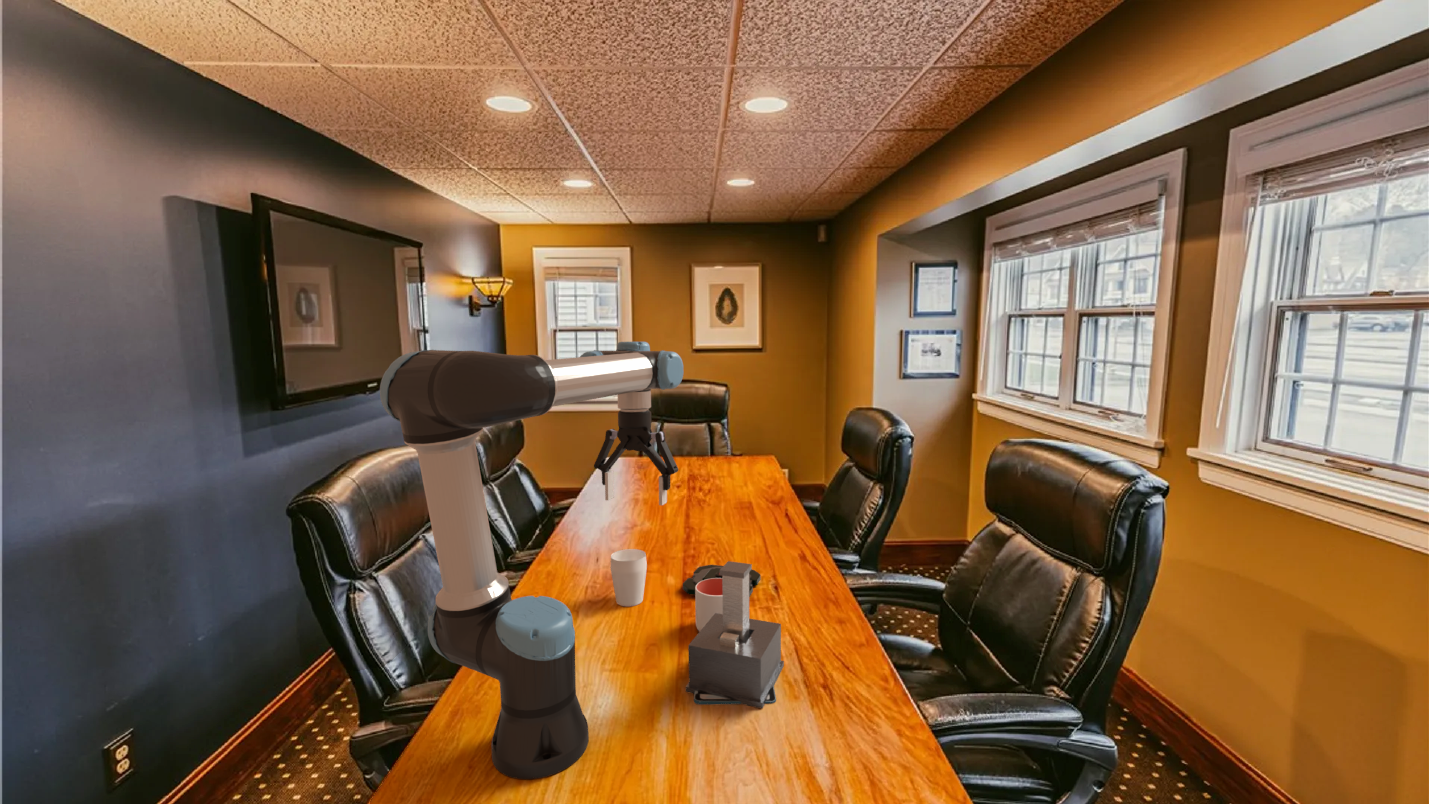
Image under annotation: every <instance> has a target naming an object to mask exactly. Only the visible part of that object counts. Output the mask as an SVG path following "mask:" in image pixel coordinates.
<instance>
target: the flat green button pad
mask: <svg viewBox="0 0 1429 804" xmlns="http://www.w3.org/2000/svg"><path fill="white" fill-rule="evenodd" d="M723 566H724V565H719V564H718V565H717V564H706V565H701V566H698V567H697V568H696V569H695V570H694V571H693V575H692V577H688V578H687V579H685V580H684V582H682V590H683V591H684V592H685V593H687V594H688V595H693V596H695V586H696V585H697V584H698V583H699V582H701V581H703V580H706V579H711V578H722V575H720V569H721V568H722V567H723ZM761 579H762V578H761V573H759V572H757V570H754V569H753V568H752V569H751V571H750V572H749V598H750V596H752V594H753V592H754V589H753V588H754V586H757V585H758V584H759V583H760V581H761Z"/></svg>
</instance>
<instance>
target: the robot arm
mask: <svg viewBox="0 0 1429 804" xmlns="http://www.w3.org/2000/svg"><path fill="white" fill-rule="evenodd" d="M683 378H684V363H683V360H682V357H681V355H679V354H678V352H675V351H671V350H670V351H667V350H651V346H650V344H649V342H647V341H618V343H616V350H596V349H594V350H591V351H585V352H583V353H582V354H581V355H580V356H578V357H569V358H567V357H566V358H554V359H545V358H544V357H542V356H540V355H537V354H525V355H524V354H522V355H521V354H520V355H517V354H505V353H495V352H487V351H481V350H480V351H479V350H442V349H440V350H439V349H423V350H419V351H412V352H407V353H405V354H402V355H401V356H399V357H397V358H396V359H394V361H393V362H391V363H390V364H389V366H388V368H387V369H386V370H385V372H384V373H383V375H382V378H381V380H380V385H379V398H380V401H381V402H380V403H381V405H382V406H383V409H384V410H385V412H386V413H387V414H388V416H391V417H392V418H393V419H394V420H396V421H398V422H399V423H400V427H401V432H402V436H403V442H404V444H405V445H407V446H409V447H410V448H412V449H413V450H415V451H416V453H417V457H418V463H419V469H420V472H421V478H422V484H423V489H424V496H425V499H426V505H427V511H428V515H429V519H430V525H431V531H432V536H433V537H432V538H433V542H434V547H435V551H436V556H437V561H438V567H439V574H440V579H441V583H442V584H441V585H442V588H441V589H440V590H439V591H438V593H436V596H435V603H434V605H433V608H432V610H431V611H432V614H431V615H429V617H428V621H427V636H428V640H429V643H430V644H431V647H432V648H433V650H435V652H436V653H437V654H438V655H440V656H441V657H444V659H446V660H447V661H449V662H450V663H453V664H457V665H459V666H463V667H465V668H467V669H471V670H472V671H475V672H478V673H480V674H483V675H485V676H489V677H491V678H493V679H495V680H498V681H499V691H500V711H499V715H498V717H497V721H496V725H495V728H494V731H493V732H494V733H493V736H492V739H491V744H490V745H491V761H492V764H493V766H494V767H495V769H496V770H497V771H499V773H501V774H503V775H505V776H507V777H510V778H513V779H519V780H534V779H541V778H545V777H549V776H552V775H554V774H558V773H560V772H561V771H564V770H565V769H568V768H569V767H570V766H572V765H573V764H574V763H576V762H577V761H578V760H579V759H580V758H581V757H582V756H583V755H584V753H585V751H586V749H587V748H588V744H589V738H590V737H589V724H588V721H587V719H586V716H585V715H584V712H583V711H582V710H583V709H582V706H581V704H580V702H579V699H578V696H577V685H576V684H577V683H576V682H577V678H576V677H577V676H576V640H575V639H576V634H575V633H576V631H575V630H576V629H575V627H574V619H573V615H572V613H571V610H570V608H568V606H567V605H566V604H565V603H564V602H562V601H560V600H558V599H556V598H553V597H549V596H545V595H538V596H537V597H535V596H534V595H527V596H520V597H517V598H514V599H512V595H511V590H510V585H509V579H508V578H507V577H506V576H505V575H503V574H501V573H500V572H498V570H497V569H498V568H497V563H496V557H495V551H494V546H493V539H492V534H491V533H492V532H491V528H490V523H489V517H488V510H487V504H486V499H485V492H484V487H483V481H482V475H481V470H480V469H481V468H480V463H479V458H478V451H477V446H476V445H477V444H476V440H477V439H478V437H479V436H480V435H481V433H482V432H483V431H484V428H489V427H494V426H499V425H503V424H508V423H511V422H516V421H521V420H525V419H530V418H533V417H534V418H535V417H538V416H539V417H540V416H542V415H543V416H544V415H545V414H547V413H548V412H549V411H550V410H551V409H552V407H558V406H562V405H563V406H564V405H569V404H573V403H574V404H575V403H579V402H586V401H591V400H596V399H601V398H607V397H613V396H617V408H618V409H619V411H617V426H618V430H615V429H614V428H611V429H608V430H606V431H605V437H604V440H603V444H602V446H601V447H600V451H599V453H598V455H597V457H596V459H595V462H594V464H593V468H594V469H596V470H600V472H601V484H602V486H604V489H605V490H604V497H605V501H611V500H612V499H614V498H615V491H614V489H615V485H614V484H615V483H614V480H615V479H614V478H615V477H614V470H612V468H613V466H614V465H615V463H616V462H617V461H618V459H619V458H621V456H622V454H623V453H624V452H625V451H629V452H630V451H635V452H641V451H642V452H643V453H644V454H646V456H647V457H648V458H649V460H650V461H651V463H652V464H653V465H654V466H655V467H656V469H657V470H658V472H659V473H660V474H661V475H659V476H658V506H664V505H665V504H667V502H668V490H670V489H671V475H674V474H676V473H678V472H679V468H678V465H677V463H676V461H675V459H674V456H673V453H672V452H671V450H670V448H669V445H668V443H667V442H666V436H665V431H662V430H660V431H658V432H653V431H652V411H651V410H650V409H651V408H652V392H651V391H652V390H655V389H656V390H657V389H658V390H662V391H663V390H673V389H676V388H677V387H679V385H681V383H682V380H683ZM617 438H618V440H619V443H618V445H617V446H616V448H615V450H614V451H612V453H611V454H610V452H611V449H612V447H613V445H614V443H615V440H616V439H617ZM652 440H653V441H654V442H655V444H656V447H657V449H658V450H659V453H660V454H659V453H658V452H657V450H656V449H655V446H654V445H653V443H652V442H651V441H652ZM609 454H610V456H609ZM660 455H661V456H660ZM608 456H609V457H608Z"/></svg>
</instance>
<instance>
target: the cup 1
mask: <svg viewBox="0 0 1429 804" xmlns="http://www.w3.org/2000/svg"><path fill="white" fill-rule="evenodd" d="M647 568H648V564H647V555H646V552H645V551H644V550H642V549H637V548H625V549H621V550H617V551H614V552H613V553H611V555H610V572H611V573H610V574H611V578H612V579H611V580H612V583H613V584H612V586H613V590H614V595H615V601H616V604H617V605H620V606H621V607H634V606H635V607H636V606H637V605H640V604H641V603H642V602H643V600H644V593H645V585H646V577H647Z"/></svg>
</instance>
